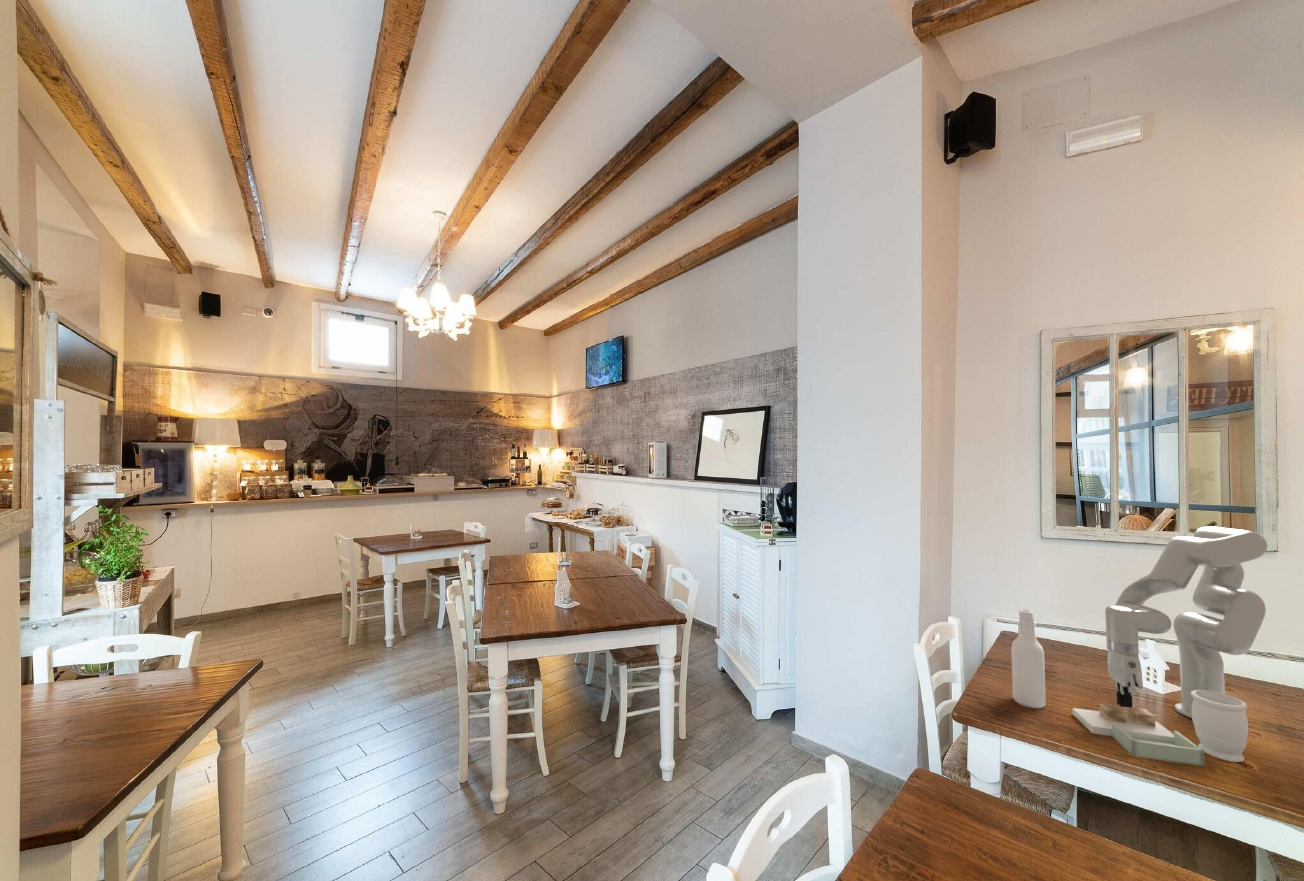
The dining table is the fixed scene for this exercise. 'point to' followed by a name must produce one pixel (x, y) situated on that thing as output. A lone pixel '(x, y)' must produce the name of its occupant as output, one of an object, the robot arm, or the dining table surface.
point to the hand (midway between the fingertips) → (1124, 706)
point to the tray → (1161, 748)
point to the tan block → (1112, 713)
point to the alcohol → (1028, 664)
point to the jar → (1220, 724)
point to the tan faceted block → (1141, 716)
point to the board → (1122, 726)
